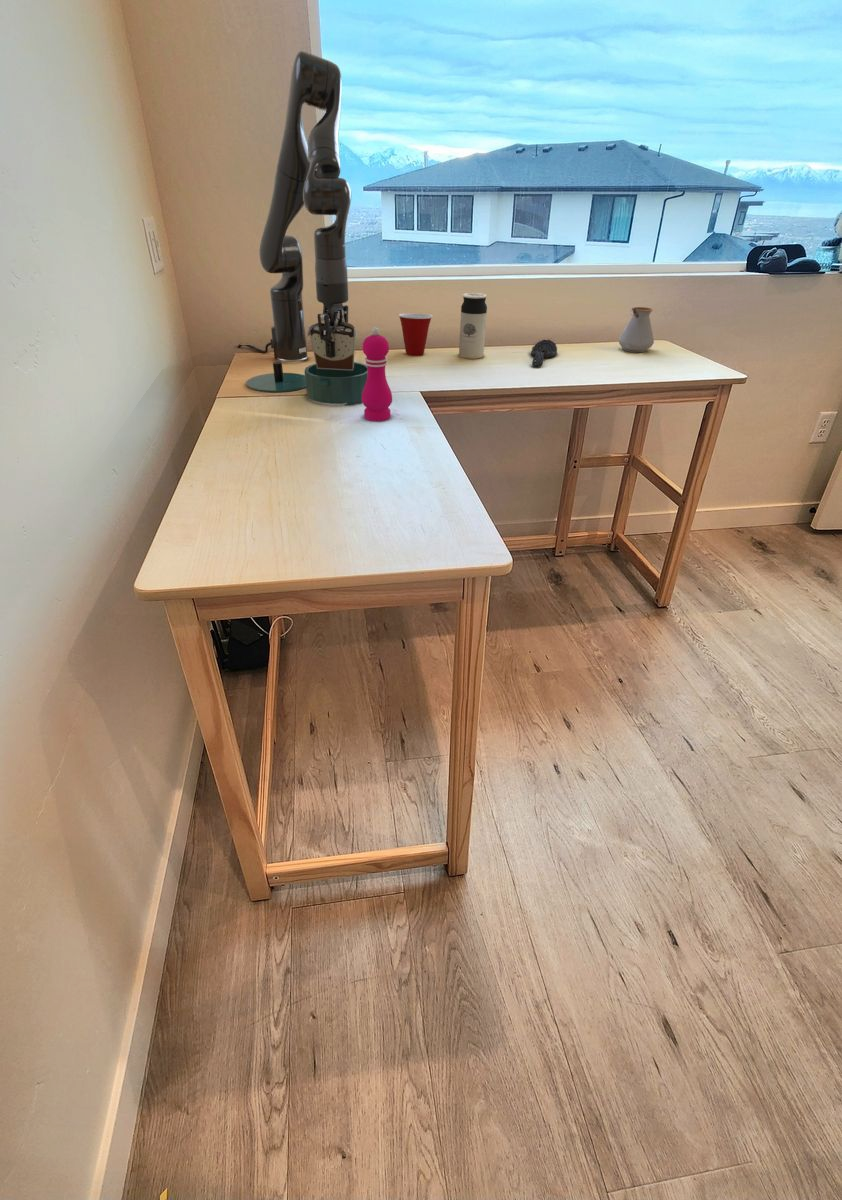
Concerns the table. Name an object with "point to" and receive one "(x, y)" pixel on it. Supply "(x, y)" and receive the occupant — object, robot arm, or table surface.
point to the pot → (336, 384)
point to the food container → (342, 348)
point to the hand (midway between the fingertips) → (335, 353)
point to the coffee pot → (638, 331)
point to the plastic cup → (415, 332)
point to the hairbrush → (543, 351)
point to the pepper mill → (376, 378)
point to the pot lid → (277, 381)
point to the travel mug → (473, 326)
